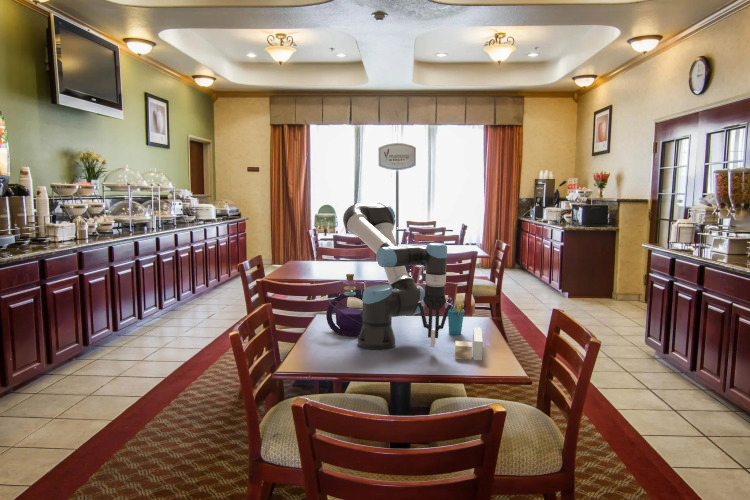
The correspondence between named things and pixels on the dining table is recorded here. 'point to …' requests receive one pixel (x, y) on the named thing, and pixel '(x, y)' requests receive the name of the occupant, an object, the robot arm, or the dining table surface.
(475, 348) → the board
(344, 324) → the decorative bottle
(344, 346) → the dining table surface
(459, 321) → the cup
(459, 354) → the birch block
